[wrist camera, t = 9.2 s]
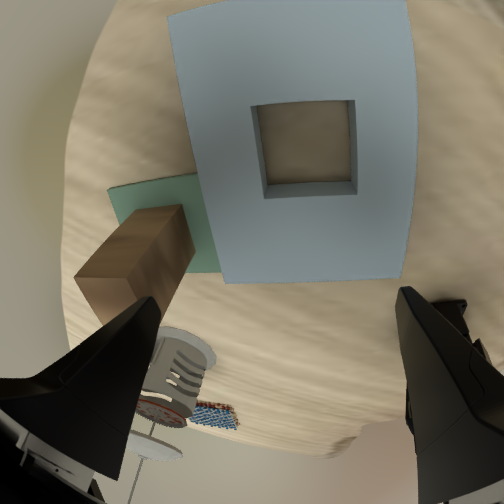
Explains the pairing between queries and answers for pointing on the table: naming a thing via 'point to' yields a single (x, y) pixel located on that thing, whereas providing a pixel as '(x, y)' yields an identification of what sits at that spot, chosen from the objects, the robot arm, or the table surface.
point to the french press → (170, 390)
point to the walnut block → (138, 262)
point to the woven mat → (214, 415)
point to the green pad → (173, 193)
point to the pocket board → (296, 90)
